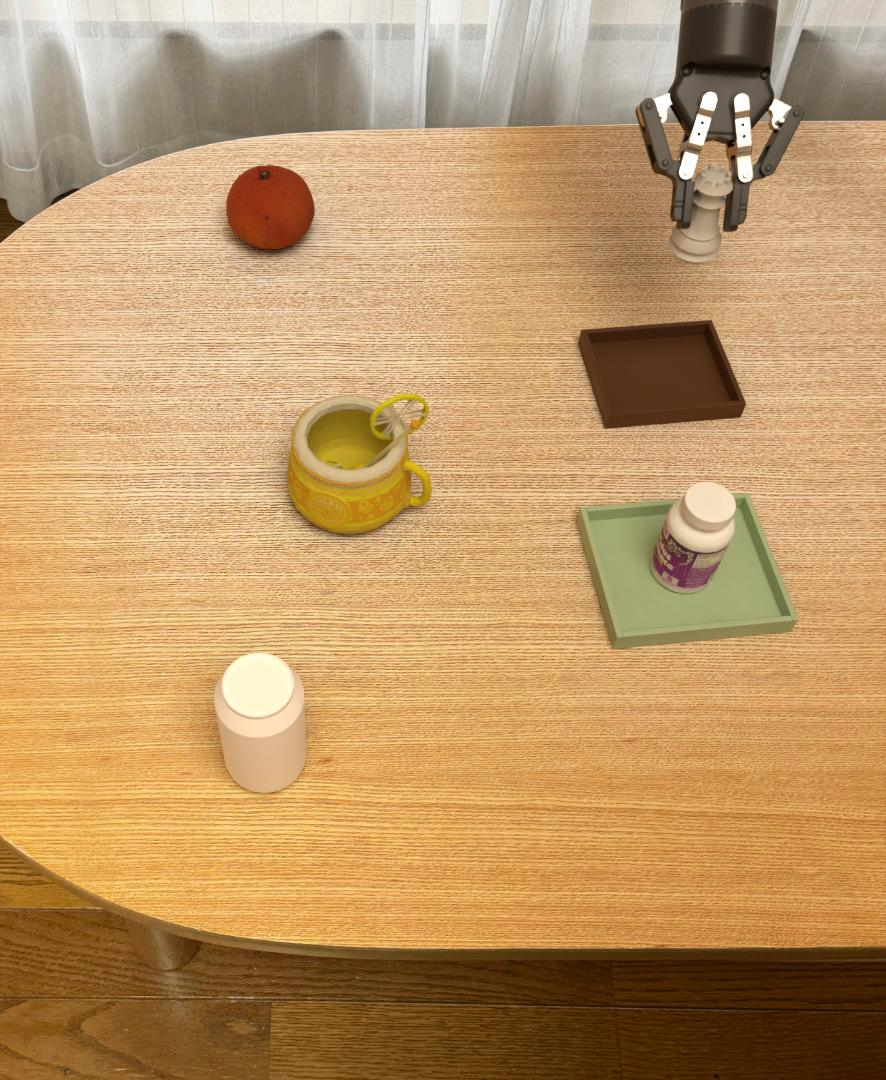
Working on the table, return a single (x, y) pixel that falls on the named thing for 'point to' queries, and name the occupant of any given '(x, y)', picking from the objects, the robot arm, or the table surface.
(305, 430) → the mug
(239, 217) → the fruit
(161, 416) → the table surface
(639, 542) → the green tray
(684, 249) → the rook chess piece
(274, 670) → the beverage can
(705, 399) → the walnut tray
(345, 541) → the table surface
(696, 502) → the pill bottle
